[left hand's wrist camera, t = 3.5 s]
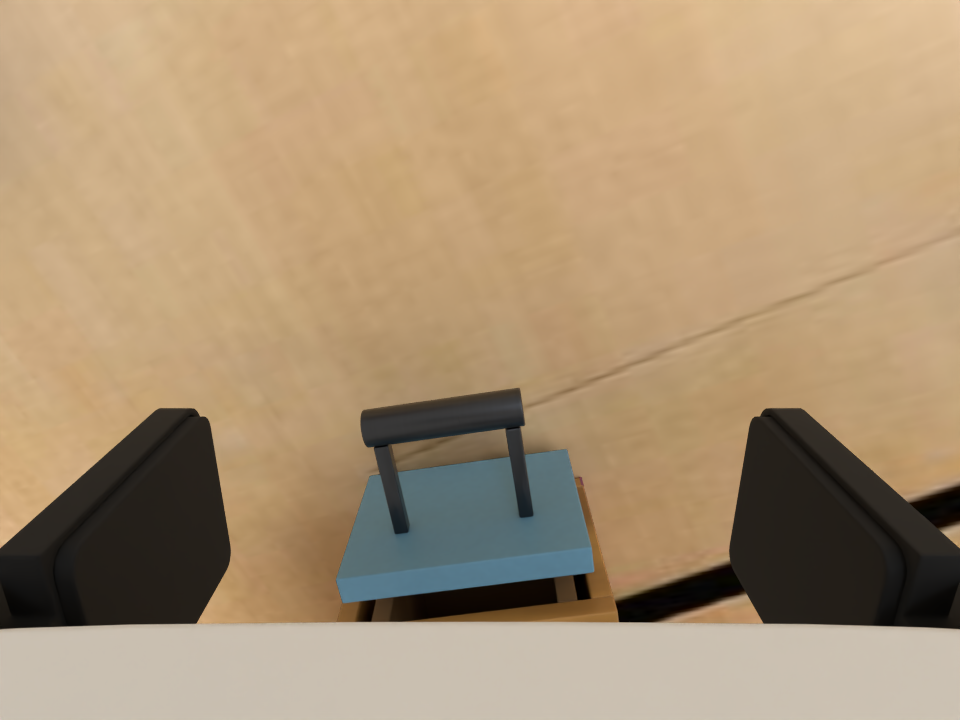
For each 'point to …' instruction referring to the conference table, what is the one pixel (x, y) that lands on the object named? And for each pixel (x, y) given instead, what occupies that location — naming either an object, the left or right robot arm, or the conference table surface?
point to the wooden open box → (589, 607)
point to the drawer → (463, 519)
